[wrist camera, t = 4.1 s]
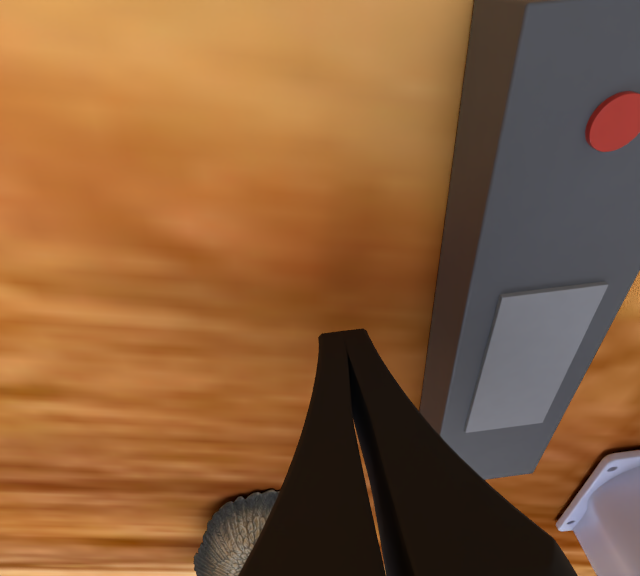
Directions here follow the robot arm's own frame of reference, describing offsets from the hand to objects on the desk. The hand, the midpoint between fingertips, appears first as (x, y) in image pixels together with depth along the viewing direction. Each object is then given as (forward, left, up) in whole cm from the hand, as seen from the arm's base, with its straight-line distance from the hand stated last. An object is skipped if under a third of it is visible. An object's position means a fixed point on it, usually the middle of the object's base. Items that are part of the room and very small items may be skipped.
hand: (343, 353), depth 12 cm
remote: (0, -5, -2) cm, 6 cm away
